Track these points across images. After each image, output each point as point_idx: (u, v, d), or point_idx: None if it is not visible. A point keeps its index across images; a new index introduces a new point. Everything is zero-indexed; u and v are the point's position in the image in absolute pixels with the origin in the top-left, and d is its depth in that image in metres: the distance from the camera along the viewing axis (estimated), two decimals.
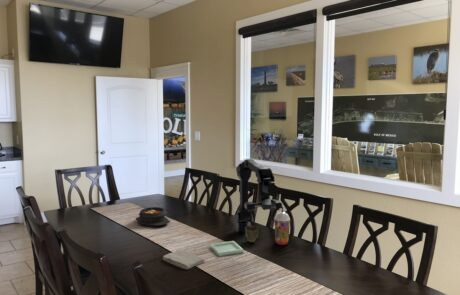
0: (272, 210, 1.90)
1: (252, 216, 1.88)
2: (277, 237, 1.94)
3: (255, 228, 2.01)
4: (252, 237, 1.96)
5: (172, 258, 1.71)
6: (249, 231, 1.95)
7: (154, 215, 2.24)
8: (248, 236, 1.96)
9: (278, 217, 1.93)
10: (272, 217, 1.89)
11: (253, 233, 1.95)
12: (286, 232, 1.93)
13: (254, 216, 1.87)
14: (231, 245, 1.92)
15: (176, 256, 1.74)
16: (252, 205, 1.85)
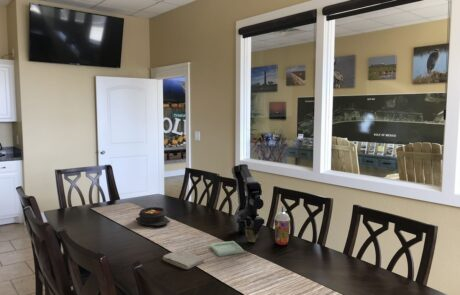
0: None
1: None
2: (277, 237, 1.94)
3: None
4: (252, 237, 1.96)
5: (172, 258, 1.71)
6: (249, 231, 1.95)
7: (154, 215, 2.24)
8: (248, 236, 1.96)
9: (278, 217, 1.93)
10: (254, 231, 1.94)
11: (253, 233, 1.95)
12: (286, 232, 1.93)
13: (246, 224, 2.03)
14: (231, 245, 1.92)
15: (176, 256, 1.74)
16: None
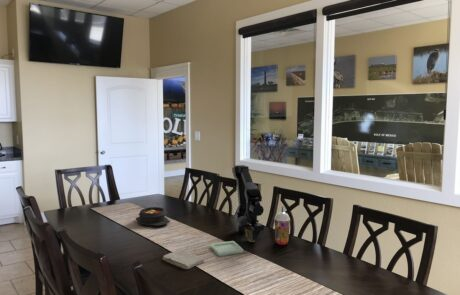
0: None
1: None
2: (277, 237, 1.94)
3: None
4: (252, 237, 1.96)
5: (172, 258, 1.71)
6: (249, 231, 1.95)
7: (154, 215, 2.24)
8: (248, 236, 1.96)
9: (278, 217, 1.93)
10: (253, 237, 1.95)
11: None
12: (286, 232, 1.93)
13: None
14: (231, 245, 1.92)
15: (176, 256, 1.74)
16: None
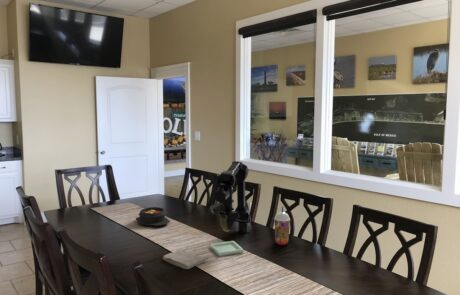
0: None
1: None
2: (277, 237, 1.94)
3: None
4: None
5: (172, 258, 1.71)
6: (223, 219, 1.82)
7: (154, 215, 2.24)
8: (222, 225, 1.83)
9: (278, 217, 1.93)
10: (227, 226, 1.82)
11: None
12: (286, 232, 1.93)
13: None
14: (231, 245, 1.92)
15: (176, 256, 1.74)
16: None
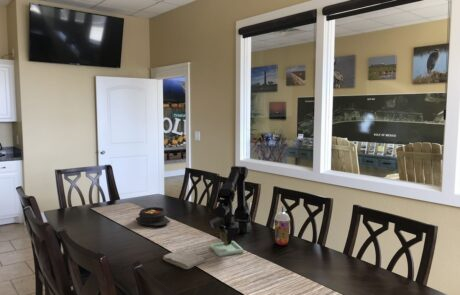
0: None
1: None
2: (277, 237, 1.94)
3: None
4: None
5: (172, 258, 1.71)
6: (223, 234, 1.83)
7: (154, 215, 2.24)
8: (222, 239, 1.84)
9: (278, 217, 1.93)
10: (227, 240, 1.83)
11: None
12: (286, 232, 1.93)
13: None
14: (231, 245, 1.92)
15: (176, 256, 1.74)
16: None
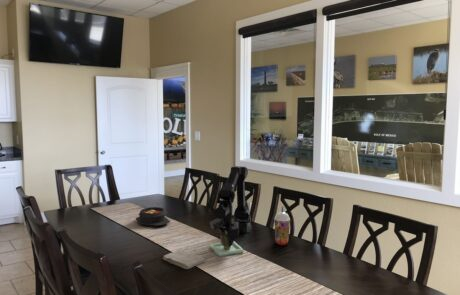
0: None
1: None
2: (277, 237, 1.94)
3: None
4: (227, 244, 1.84)
5: (172, 258, 1.71)
6: (224, 237, 1.84)
7: (154, 215, 2.24)
8: (223, 243, 1.85)
9: (278, 217, 1.93)
10: (228, 242, 1.82)
11: None
12: (286, 232, 1.93)
13: None
14: (231, 245, 1.92)
15: (176, 256, 1.74)
16: None
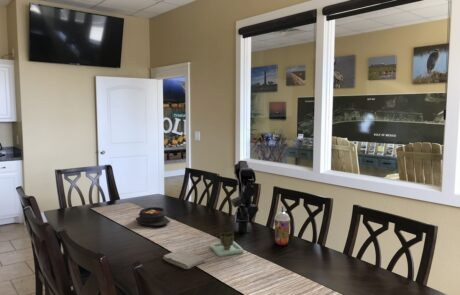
0: None
1: None
2: (277, 237, 1.94)
3: (231, 234, 1.89)
4: (227, 244, 1.84)
5: (173, 258, 1.71)
6: (224, 237, 1.83)
7: (154, 215, 2.24)
8: (223, 243, 1.84)
9: (278, 217, 1.93)
10: (248, 219, 1.94)
11: (228, 240, 1.83)
12: (286, 232, 1.93)
13: (241, 212, 2.03)
14: (231, 245, 1.92)
15: (177, 256, 1.74)
16: None
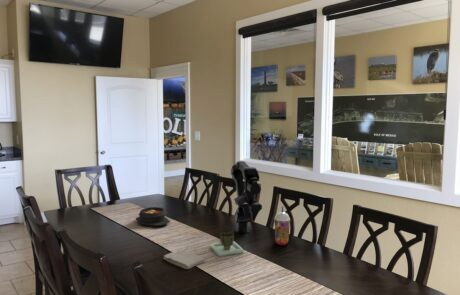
0: None
1: None
2: (277, 237, 1.94)
3: (231, 234, 1.89)
4: (227, 244, 1.84)
5: (173, 258, 1.71)
6: (224, 237, 1.83)
7: (154, 215, 2.24)
8: (223, 243, 1.84)
9: (278, 217, 1.93)
10: None
11: (228, 240, 1.83)
12: (286, 232, 1.93)
13: (244, 210, 2.04)
14: (231, 245, 1.92)
15: (177, 256, 1.74)
16: None
